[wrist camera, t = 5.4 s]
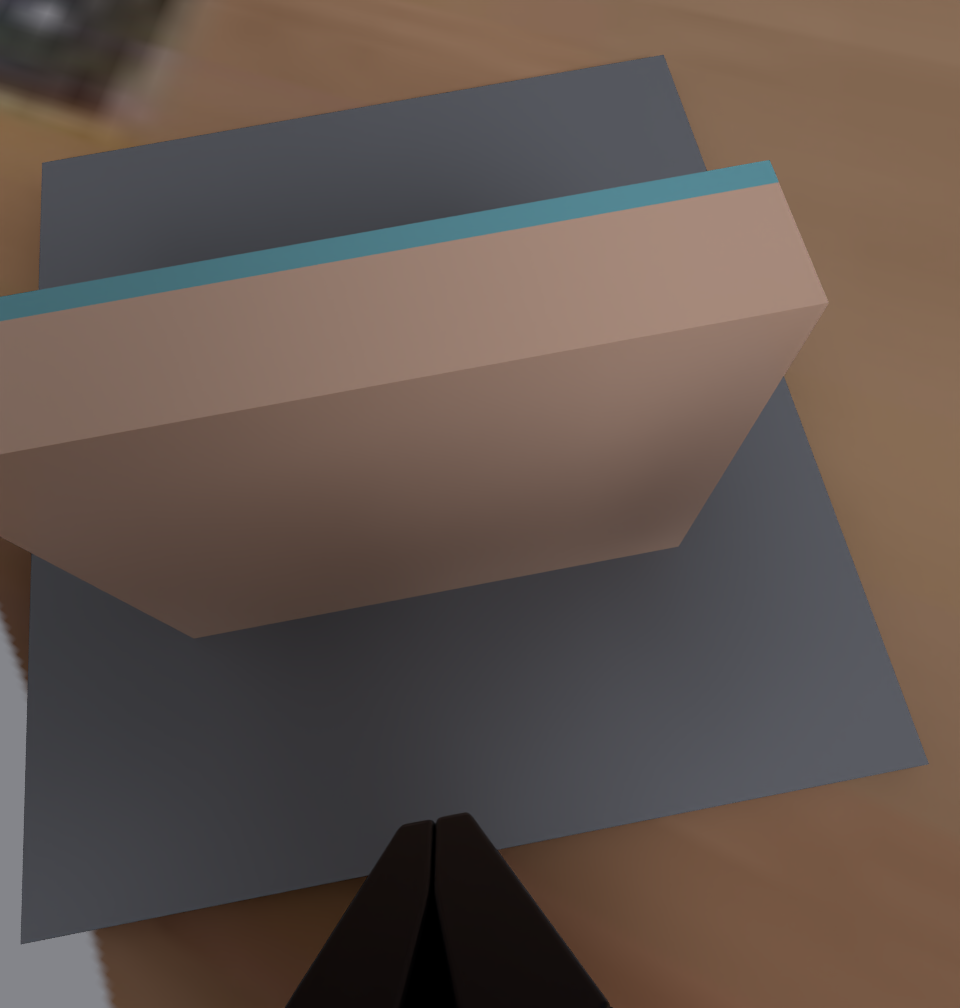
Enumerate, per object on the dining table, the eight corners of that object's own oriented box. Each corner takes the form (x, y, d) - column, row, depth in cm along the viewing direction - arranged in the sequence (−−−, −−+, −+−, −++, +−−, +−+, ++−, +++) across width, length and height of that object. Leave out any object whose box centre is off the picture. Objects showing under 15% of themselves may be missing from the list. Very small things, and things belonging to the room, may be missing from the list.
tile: (678, 546, 19) (828, 302, 10) (193, 638, 19) (-116, 475, 10) (653, 459, 20) (769, 160, 11) (189, 545, 20) (-100, 314, 11)
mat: (915, 765, 18) (928, 764, 17) (36, 940, 17) (20, 944, 17) (660, 71, 26) (663, 54, 25) (52, 177, 25) (42, 162, 25)
